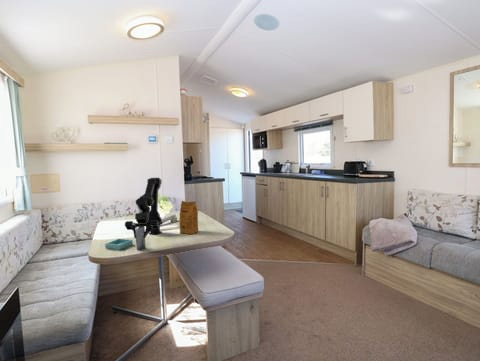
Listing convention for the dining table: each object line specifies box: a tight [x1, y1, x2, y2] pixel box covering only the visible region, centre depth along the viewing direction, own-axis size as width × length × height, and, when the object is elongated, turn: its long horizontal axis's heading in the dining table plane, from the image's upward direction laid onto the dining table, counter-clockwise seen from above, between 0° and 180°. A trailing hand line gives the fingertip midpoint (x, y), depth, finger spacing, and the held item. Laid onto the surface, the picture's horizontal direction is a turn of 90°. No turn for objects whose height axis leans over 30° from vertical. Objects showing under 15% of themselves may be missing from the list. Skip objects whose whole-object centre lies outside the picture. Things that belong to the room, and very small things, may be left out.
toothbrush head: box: [161, 213, 178, 224], centre depth 222 cm, size 5×7×25 cm
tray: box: [104, 238, 134, 251], centre depth 169 cm, size 11×11×3 cm
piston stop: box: [135, 226, 147, 252], centre depth 163 cm, size 5×5×13 cm
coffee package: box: [179, 200, 199, 235], centre depth 195 cm, size 10×12×22 cm
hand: (139, 237), depth 161 cm, fingers closed on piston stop, 5 cm apart
